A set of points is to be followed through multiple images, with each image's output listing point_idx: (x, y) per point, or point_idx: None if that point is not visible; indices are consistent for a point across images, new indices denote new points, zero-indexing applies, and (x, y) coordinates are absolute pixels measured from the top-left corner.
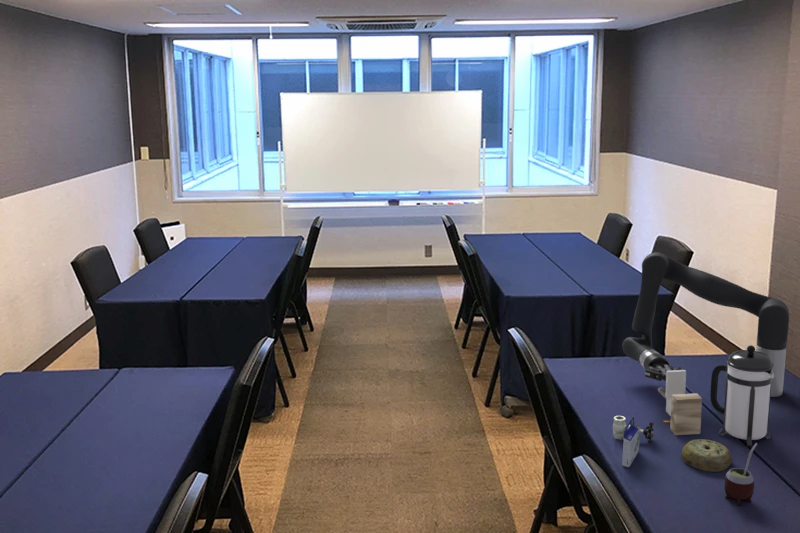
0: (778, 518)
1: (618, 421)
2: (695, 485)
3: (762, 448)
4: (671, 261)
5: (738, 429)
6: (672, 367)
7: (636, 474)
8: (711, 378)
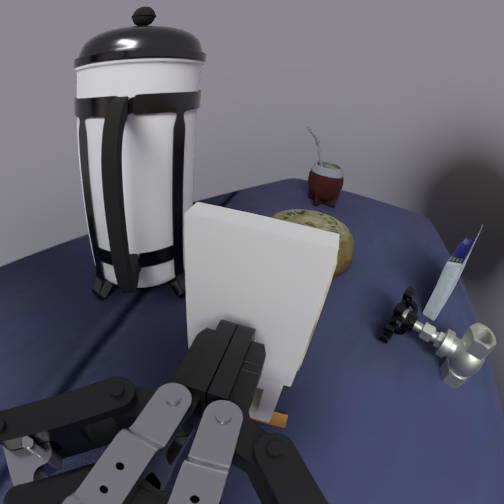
0: (299, 183)
1: (483, 329)
2: (359, 228)
3: None
4: None
5: None
6: (23, 487)
7: (434, 268)
8: (118, 190)
